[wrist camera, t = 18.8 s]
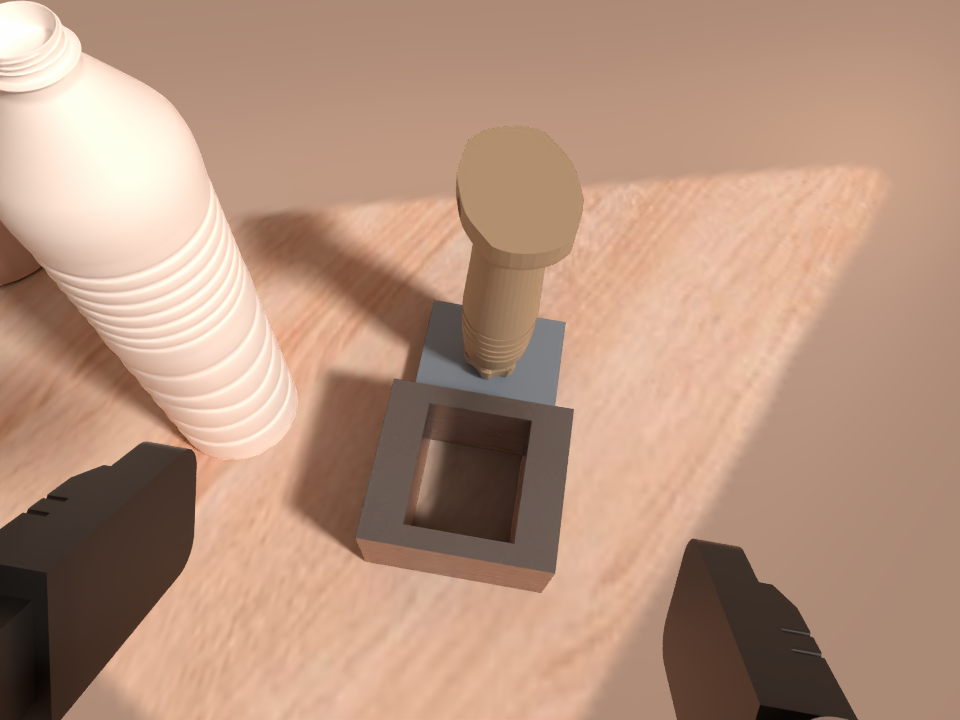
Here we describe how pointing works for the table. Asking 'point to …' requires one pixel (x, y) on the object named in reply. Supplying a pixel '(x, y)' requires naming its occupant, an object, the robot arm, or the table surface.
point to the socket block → (477, 424)
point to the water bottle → (136, 236)
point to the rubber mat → (526, 383)
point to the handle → (511, 237)
